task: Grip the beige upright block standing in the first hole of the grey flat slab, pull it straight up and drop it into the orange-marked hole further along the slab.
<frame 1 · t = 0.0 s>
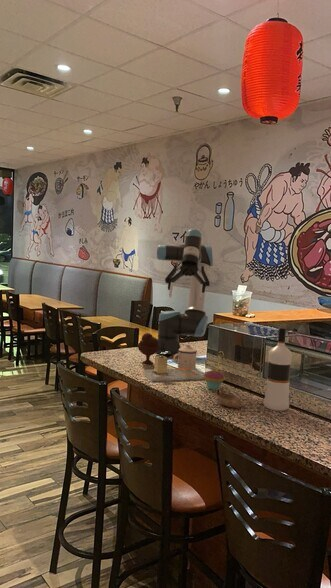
hand: (185, 297, 207), 36 cm above the bar counter, tool tilted 35°, fingers open, 13 cm apart
vodka: (275, 408, 173), on the bar counter
beige upright block: (160, 377, 206), resting in grey flat slab
grey flat slab: (173, 376, 208), on the bar counter
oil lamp: (227, 405, 173), on the bar counter
ice cream bowl: (147, 363, 230), on the bar counter
cupcake: (213, 388, 194), on the bar counter
teacup with lid: (183, 368, 225), on the bar counter
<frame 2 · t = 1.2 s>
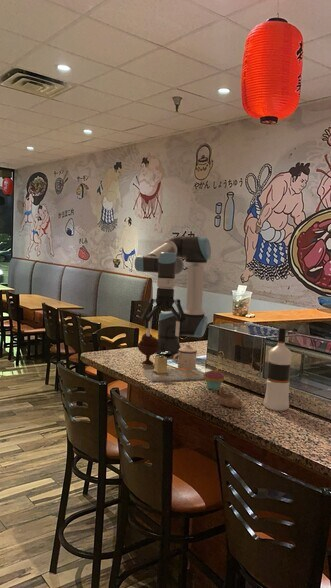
hand: (162, 336, 205), 18 cm above the bar counter, tool pointing down, fingers open, 13 cm apart
nothing on the bar counter moved.
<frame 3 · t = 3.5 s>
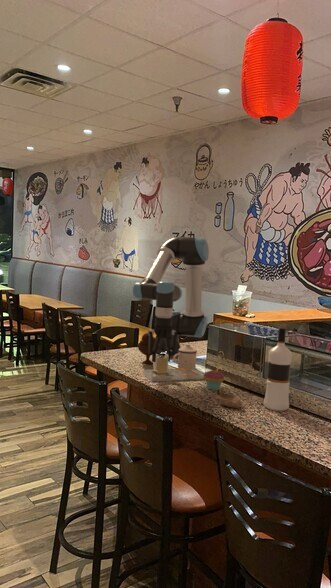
hand: (160, 368, 206), 4 cm above the bar counter, tool pointing down, fingers closed on beige upright block, 4 cm apart
beige upright block: (160, 377, 206), resting in grey flat slab, touching gripper
everything else where it was.
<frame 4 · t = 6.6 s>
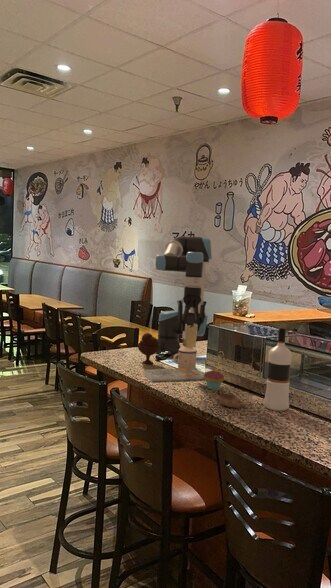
hand: (189, 338, 209), 17 cm above the bar counter, tool pointing down, fingers closed on beige upright block, 4 cm apart
beige upright block: (189, 346, 209), point 14 cm above the bar counter, touching gripper
everything else where it was.
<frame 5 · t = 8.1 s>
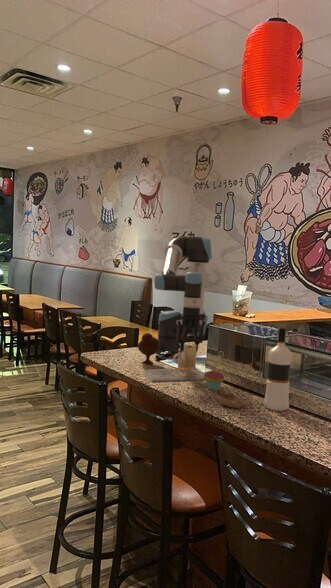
hand: (188, 358, 210), 8 cm above the bar counter, tool pointing down, fingers closed on beige upright block, 4 cm apart
beige upright block: (187, 366, 210), point 5 cm above the bar counter, touching gripper
everything else where it was.
when the fingers open (5 cm above the bar counter, at t = 9.5 s): beige upright block stays where it is, resting in grey flat slab.
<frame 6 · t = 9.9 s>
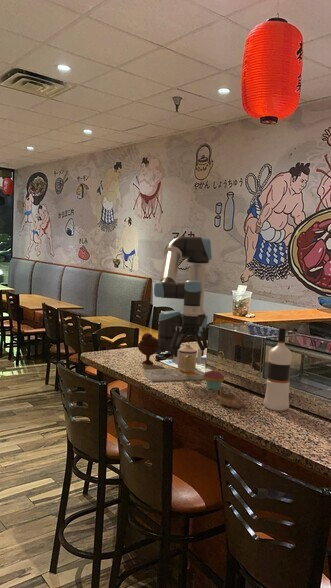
hand: (188, 363, 210), 6 cm above the bar counter, tool pointing down, fingers open, 10 cm apart
beige upright block: (187, 376, 211), resting in grey flat slab
everything else where it was.
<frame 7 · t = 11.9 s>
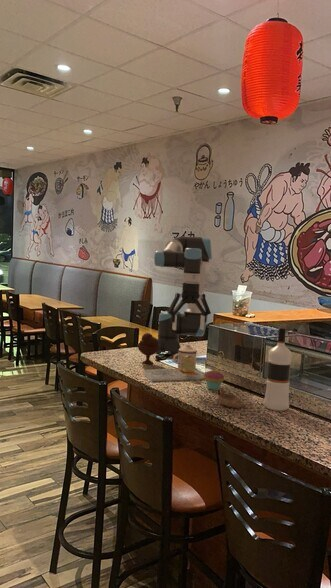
hand: (188, 329, 210), 21 cm above the bar counter, tool pointing down, fingers open, 13 cm apart
nothing on the bar counter moved.
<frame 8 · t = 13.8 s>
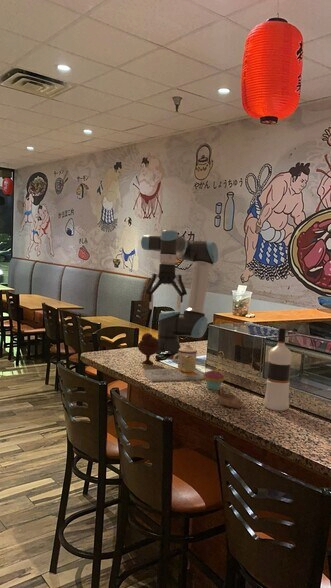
hand: (164, 309, 218), 29 cm above the bar counter, tool pointing down, fingers open, 13 cm apart
nothing on the bar counter moved.
at the end: beige upright block 0.0 cm from the target spot on the grey flat slab, point 0.0 cm above the grey flat slab's base; beige upright block tilted 0°; the gripper is holding nothing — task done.
